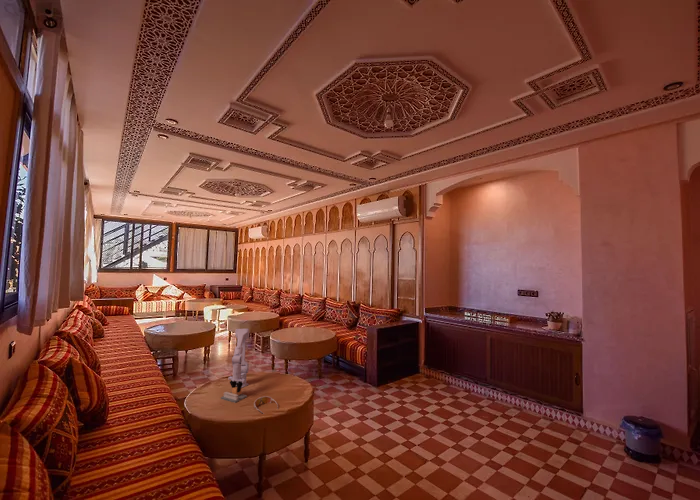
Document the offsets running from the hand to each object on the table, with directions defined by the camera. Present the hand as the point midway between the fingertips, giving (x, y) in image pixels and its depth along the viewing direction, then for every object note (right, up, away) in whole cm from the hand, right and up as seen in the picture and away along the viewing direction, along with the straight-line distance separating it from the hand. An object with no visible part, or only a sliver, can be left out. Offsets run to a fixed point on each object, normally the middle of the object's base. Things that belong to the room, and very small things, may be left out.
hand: (236, 391), depth 229 cm
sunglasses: (+25, -4, -17) cm, 31 cm away
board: (-1, -4, -2) cm, 4 cm away
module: (0, -2, 0) cm, 2 cm away
